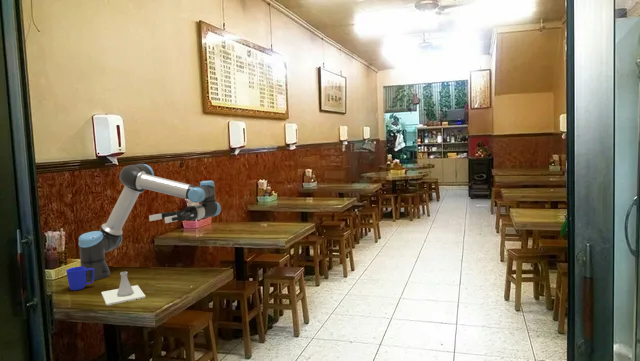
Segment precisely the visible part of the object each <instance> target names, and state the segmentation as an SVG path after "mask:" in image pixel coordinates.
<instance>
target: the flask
mask: <svg viewBox="0 0 640 361" xmlns="http://www.w3.org/2000/svg"><path fill="white" fill-rule="evenodd" d="M119 275H120V283H119V287H118V289H119V290H118V293H117V295H118V296H126V295H131V294H133V293H134V291H133V289H132V287H131V286H132V285H131V283H130V281H129V278H128V271H121V272H120V273H119Z"/></svg>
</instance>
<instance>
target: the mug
mask: <svg viewBox="0 0 640 361" xmlns="http://www.w3.org/2000/svg"><path fill="white" fill-rule="evenodd" d="M87 270H93V278H92V281H89V282H88V281H86V271H87ZM66 276H67V281H68V287H69V289H70V291H79V290H83V289H85V287H86V285H90V284H93V283H94V281H95V280H94V268H89V269H85V267H80V266H73V267H70V268H68V269H66Z"/></svg>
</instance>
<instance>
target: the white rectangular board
mask: <svg viewBox="0 0 640 361" xmlns="http://www.w3.org/2000/svg"><path fill="white" fill-rule="evenodd" d="M131 287H132V289H133V291H134V293H133V294H131V295H126V296H118V295H117V293H118V290H119V288H116V289H111V290H105V291H101V297H102V298H103V300H104V303H105V305H106V306H107V307H109V306H112V305H113V306H114V305H117V304H121V303H126V302H127V301H128V302H132V301H136V299H137V300H142V299H146V298H145V297H146V295H145V293H144V292H143V290H142V289H141V288H140V286H139V284H136V285H131ZM141 298H142V299H141Z"/></svg>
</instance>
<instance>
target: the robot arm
mask: <svg viewBox="0 0 640 361" xmlns="http://www.w3.org/2000/svg"><path fill="white" fill-rule="evenodd" d="M119 181H120V182H121V184H123V186H124V187H123V189H122V191H121V193H120V194H119V197H118V199H117V201H116V203H115V204H114V207H113V209H112V211H111V212H110V214H109V217H108V219H107V221H106V222H105V223H102V225H101V226H100V229H99V230H94V231H89V232H85V233H82V234H81V235H80V236H78V244H77V245H78V248H79V249H78V251H79V260H80V266H79V267H85V269H89V268H94V280H93V281H96V280H101V279H105V278H107V277H109V276H111V271H110V269H109V265H108V264H107V262H106V256H105V254H106V253H108V252H111V251H113V250H115V249H116V248H119V246H120V245H121V244H122V242H123V232H124V231H123V228H124V225H125V223H126V221H127V220H128V217H129V215H130V214H131V211H132V210H133V208H134V205H135V204H136V202H137V199H138V197H139V195H140V194H142V193H144V192H145V190H149V191H153V192H157V193H160V194H166V195H168V196H173V197H178V198H180V199H181V198H182V199H185V200H189V201H190V202H191V203H195V204H194V205H189V206H185V208H184V209H183V210H175V211H169V212H168V211H166V212H159V213H157V214H151V215H148V218H149V222H152V221H159V220H160V221H162V220H163V219H164V224H169V223H175V222H180V221H182V222H185V221H188V222H190V221H195V220H198V221H200V220H201V219H207V218H212V217H216V216H218V215H220V213H221V211H222V207H221V204H220V203H219V202H218V201H217V200H216V191H215V190H216V186H215V182H214V181H213V180H203V181H200V182H199V186H197V185H193V184H189V183H185V182H180V181H177V180H172V179H168V178H164V177H160V176H156V175H155V172H154V170H153V168H152V167H151V166H150V165H148V164H145V163H138V164H130V165H126V166H124V167H123V168H122V169H121V170H120V172H119ZM197 203H199V204H197ZM92 278H93V270H87V271H86V282H91V281H92Z"/></svg>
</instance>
